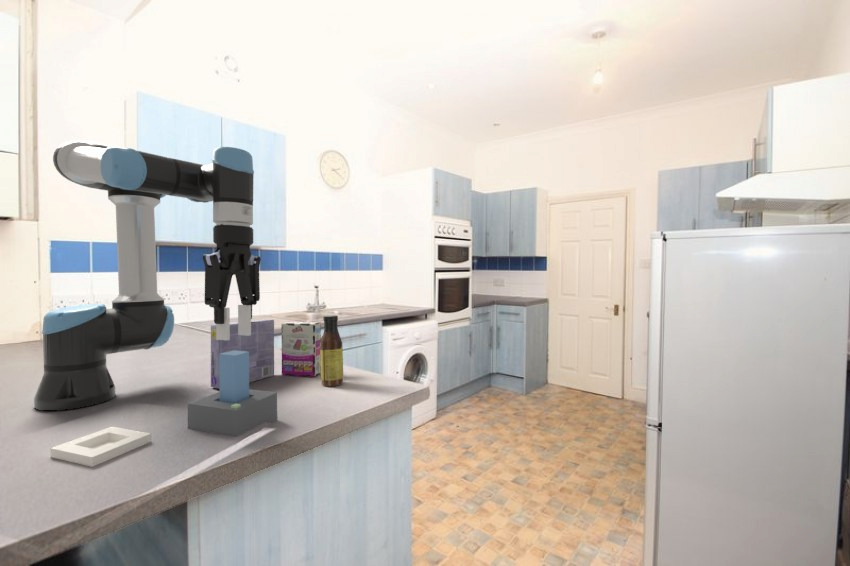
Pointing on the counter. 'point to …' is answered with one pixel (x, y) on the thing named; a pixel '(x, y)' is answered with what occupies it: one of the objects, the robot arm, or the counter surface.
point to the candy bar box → (301, 348)
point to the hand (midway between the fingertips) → (234, 337)
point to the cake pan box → (246, 349)
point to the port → (232, 413)
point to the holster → (100, 446)
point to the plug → (233, 376)
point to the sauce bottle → (331, 353)
